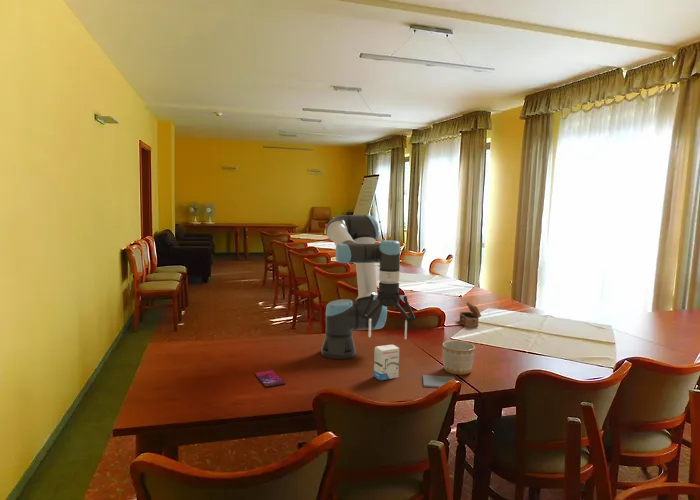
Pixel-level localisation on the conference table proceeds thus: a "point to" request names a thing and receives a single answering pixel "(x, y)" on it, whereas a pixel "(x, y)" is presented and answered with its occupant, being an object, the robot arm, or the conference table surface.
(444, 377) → the mat
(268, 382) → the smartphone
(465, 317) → the box
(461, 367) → the planter
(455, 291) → the conference table surface
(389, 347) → the ink box
